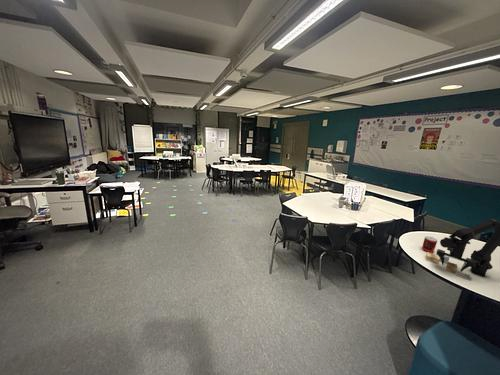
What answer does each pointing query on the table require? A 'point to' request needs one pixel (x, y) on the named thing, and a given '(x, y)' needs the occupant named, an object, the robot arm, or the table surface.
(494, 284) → the table surface
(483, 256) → the robot arm
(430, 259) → the oak base
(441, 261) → the grey block
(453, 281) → the table surface
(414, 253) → the table surface
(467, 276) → the card
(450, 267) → the walnut block
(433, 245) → the canned food
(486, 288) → the table surface
